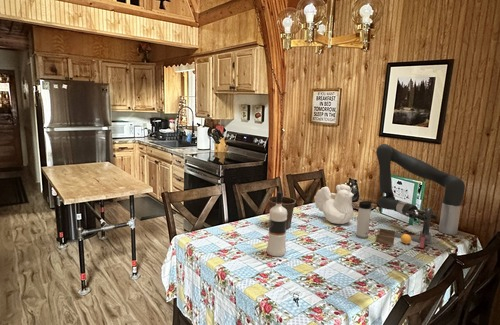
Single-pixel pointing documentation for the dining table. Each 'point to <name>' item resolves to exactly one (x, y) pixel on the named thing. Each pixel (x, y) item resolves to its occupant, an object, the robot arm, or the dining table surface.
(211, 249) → the dining table surface
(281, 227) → the vodka
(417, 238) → the rail
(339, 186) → the decorative rooster
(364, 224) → the travel mug
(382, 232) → the brown wooden block
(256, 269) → the dining table surface
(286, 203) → the plant pot
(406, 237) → the ball
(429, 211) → the kicker
